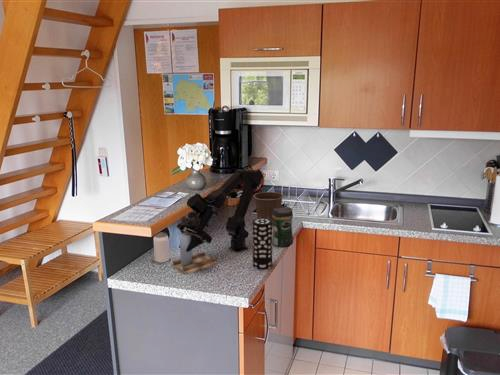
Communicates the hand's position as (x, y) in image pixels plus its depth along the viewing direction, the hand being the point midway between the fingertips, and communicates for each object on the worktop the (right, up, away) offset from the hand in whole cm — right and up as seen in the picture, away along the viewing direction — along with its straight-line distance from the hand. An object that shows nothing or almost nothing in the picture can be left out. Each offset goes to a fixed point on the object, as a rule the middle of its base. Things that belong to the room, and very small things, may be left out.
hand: (183, 249), depth 178 cm
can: (-11, -6, +11) cm, 17 cm away
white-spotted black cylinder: (+33, -8, +4) cm, 35 cm away
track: (+4, -7, +5) cm, 10 cm away
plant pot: (+38, +6, +59) cm, 71 cm away
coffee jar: (+44, -2, +28) cm, 52 cm away
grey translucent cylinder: (+1, -6, +3) cm, 7 cm away
